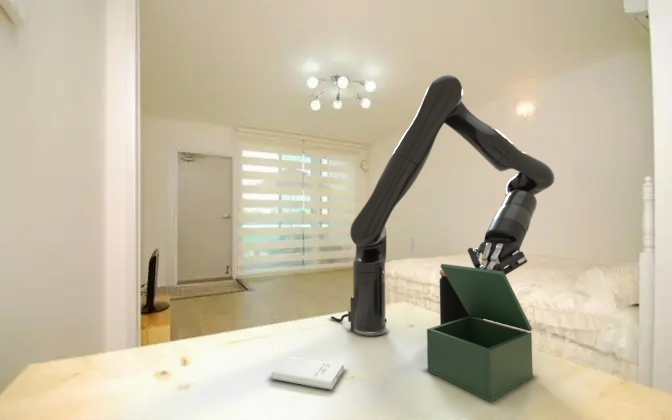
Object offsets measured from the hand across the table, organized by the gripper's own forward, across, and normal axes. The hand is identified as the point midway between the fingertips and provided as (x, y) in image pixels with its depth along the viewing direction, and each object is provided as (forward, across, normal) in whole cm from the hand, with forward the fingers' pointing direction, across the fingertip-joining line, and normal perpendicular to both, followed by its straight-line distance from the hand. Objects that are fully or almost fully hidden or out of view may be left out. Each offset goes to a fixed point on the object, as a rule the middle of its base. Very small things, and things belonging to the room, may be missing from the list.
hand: (480, 286), depth 65 cm
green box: (+13, 0, +12) cm, 18 cm away
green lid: (+1, 0, +2) cm, 2 cm away
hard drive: (+34, -20, -9) cm, 40 cm away
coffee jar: (+4, -13, +21) cm, 25 cm away
